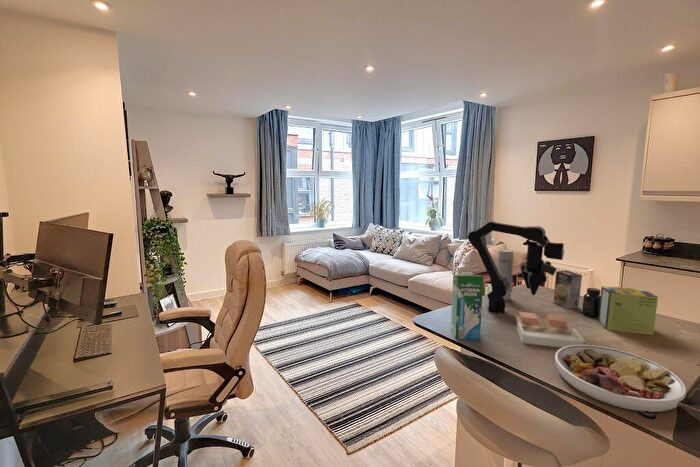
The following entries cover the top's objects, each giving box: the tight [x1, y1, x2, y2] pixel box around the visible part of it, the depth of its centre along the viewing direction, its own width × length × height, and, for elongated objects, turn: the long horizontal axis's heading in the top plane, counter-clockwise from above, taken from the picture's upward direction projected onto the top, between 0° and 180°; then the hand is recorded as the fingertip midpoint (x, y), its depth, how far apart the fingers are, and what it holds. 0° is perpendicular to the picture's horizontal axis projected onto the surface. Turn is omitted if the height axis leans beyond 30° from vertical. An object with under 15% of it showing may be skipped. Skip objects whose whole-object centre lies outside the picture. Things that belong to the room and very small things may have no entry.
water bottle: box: [496, 248, 516, 302], centre depth 171 cm, size 9×8×25 cm
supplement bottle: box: [581, 287, 601, 319], centre depth 151 cm, size 7×7×12 cm
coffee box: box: [553, 269, 583, 310], centre depth 163 cm, size 9×6×16 cm
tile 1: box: [518, 311, 539, 325], centre depth 141 cm, size 6×6×2 cm
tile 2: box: [544, 313, 568, 328], centre depth 138 cm, size 6×6×2 cm
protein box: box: [597, 285, 659, 336], centre depth 138 cm, size 10×15×16 cm
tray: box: [516, 322, 587, 349], centre depth 128 cm, size 20×12×3 cm, turn 73°
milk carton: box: [450, 271, 484, 341], centre depth 132 cm, size 9×9×25 cm
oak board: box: [515, 315, 572, 335], centre depth 139 cm, size 18×10×2 cm, turn 73°
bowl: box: [554, 344, 687, 413], centre depth 100 cm, size 30×30×8 cm
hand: (530, 291), depth 147 cm, fingers open, 9 cm apart
